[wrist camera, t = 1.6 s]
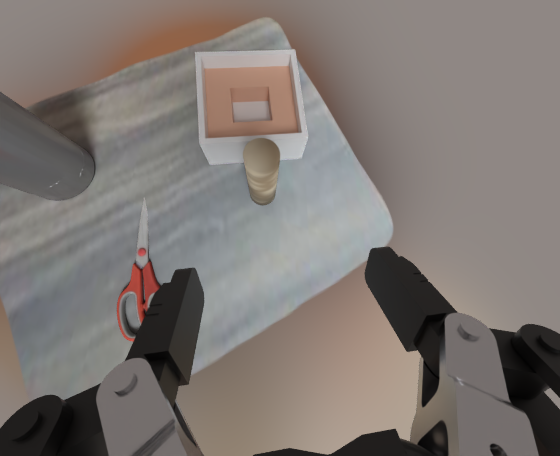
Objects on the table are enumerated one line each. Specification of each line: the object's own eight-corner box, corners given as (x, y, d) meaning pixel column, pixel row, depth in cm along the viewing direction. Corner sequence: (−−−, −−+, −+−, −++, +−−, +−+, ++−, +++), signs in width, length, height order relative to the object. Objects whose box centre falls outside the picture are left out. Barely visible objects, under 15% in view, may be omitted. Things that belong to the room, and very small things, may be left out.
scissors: (150, 190, 35) (145, 187, 34) (183, 324, 32) (180, 326, 30) (99, 204, 34) (92, 201, 33) (128, 344, 31) (121, 347, 29)
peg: (251, 206, 35) (244, 173, 23) (249, 182, 36) (241, 138, 24) (276, 204, 35) (282, 170, 24) (273, 180, 36) (278, 136, 24)
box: (210, 165, 36) (199, 144, 30) (205, 85, 39) (195, 52, 33) (301, 158, 37) (308, 137, 31) (290, 82, 40) (295, 49, 34)
